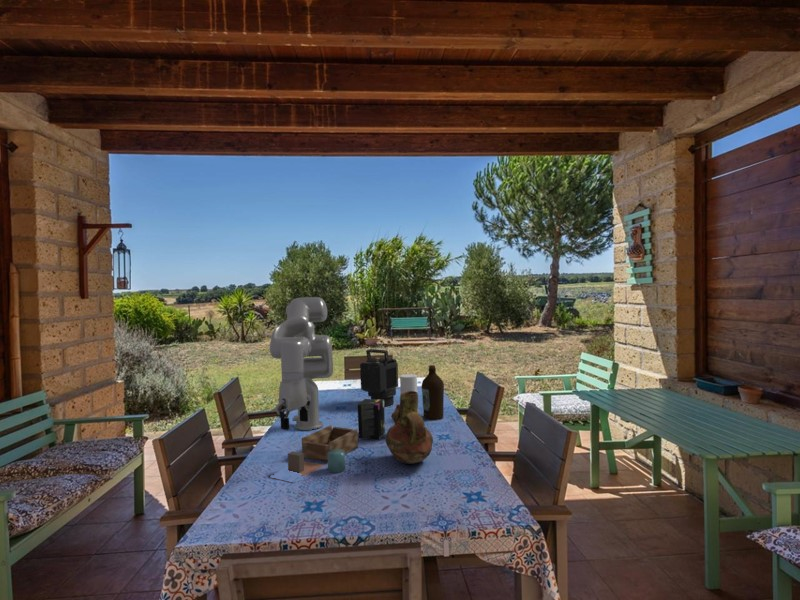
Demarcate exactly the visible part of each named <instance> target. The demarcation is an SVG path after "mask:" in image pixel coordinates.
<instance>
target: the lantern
mask: <svg viewBox="0 0 800 600" xmlns="http://www.w3.org/2000/svg"><path fill="white" fill-rule="evenodd" d="M365 352H366V353H365V354H366V359H367V360H365V361H364V362H360V364H359V368H360V369H359V371H360V389H361V390H362V391H363V392H367V395H368V397H370V399H384V408H389V407H392V406H393V404H394V403H395V401H394V400H395V399H394V398H395V397H394V396H396V395H397V388H399V363H398V361H397V359H395V358H390V357H389V351H388V350H386V349H372V348H371V349H367V350H366V351H365ZM371 353H372V354H373V353H374V354H383V355H384V358H383V357H372V356H371V355H372V354H371ZM391 405H392V406H391ZM388 406H389V407H388Z"/></svg>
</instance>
